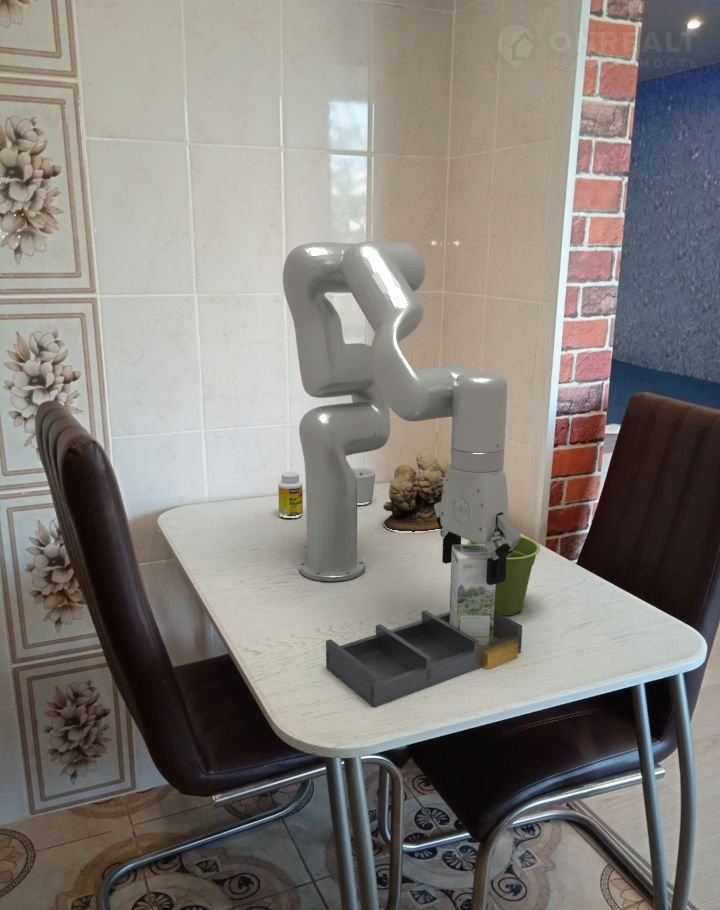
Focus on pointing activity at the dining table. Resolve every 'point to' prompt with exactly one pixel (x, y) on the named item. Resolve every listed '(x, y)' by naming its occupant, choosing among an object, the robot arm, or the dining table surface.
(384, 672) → the tray
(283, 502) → the supplement bottle
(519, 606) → the plant pot
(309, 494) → the robot arm
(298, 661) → the dining table surface
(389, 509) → the brown lumpy piece
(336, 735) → the dining table surface
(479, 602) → the syrup box
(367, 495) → the cup
